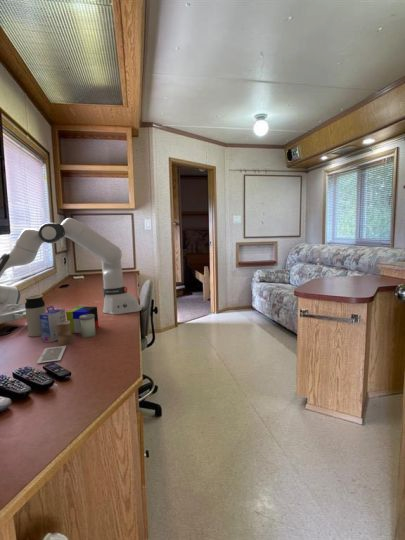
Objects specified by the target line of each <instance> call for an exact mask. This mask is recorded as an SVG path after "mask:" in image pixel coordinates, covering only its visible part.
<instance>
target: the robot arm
mask: <svg viewBox="0 0 405 540" xmlns="http://www.w3.org/2000/svg"><path fill="white" fill-rule="evenodd" d="M63 238H67V239H69V240H71V241H72V242H74V243H76V244H77V245H78V246H80V247H81V248H82V249H83V248H84V249H85V250H87V252H89V253H91V254H93V255H94V256H95V257H97V258H98V259H100V261H101V270H102V280H103V281H102V282H103V289H102V293H103V301H104V302H103V309H102V312H103V313H104V314H108V315H115V316H116V315H121V314H127V313H129V314H130V313H136V312H140V311H142V310H143V305H141V304H139V302H138V299H137V298H136V296H134V295H132V294H131V293H130V292H128V286H125V285H124V275H123V268H122V260H121V259H122V257H123V254H122V250H121V249H120V247H119V246H117V245H116V244H114V243H113V242H112V241H110V240H109V239H107V238H106V237H104V236H102V235H101V234H99V233H98V232H97V231H94V230H93V229H92V228H91V227H89V226H87V224H85V223H82V222H81V221H79V220H77V219H75V218H72V217H67V218H65V219H64V220H63V221H62V222H61V223H59V222H58V223H55V222H46V223H43V224H41V225H40V226H39V228H38V229H35V228H30V227H29V228H28V227H27V228H24V229H23V230H22V231H21V233H20V234H19V236H18V237H17V239H16V241H15V243H14V246H13V247H12V249H10V251H9V252H7V253H3V254H2V255H1V257H0V279H1V278H2V276H3V275H4V273H5V272H6V270H8V269H9V268H12V267H20V266H26V265H29V264H31V263H32V262H34V260H35V259H36V257H37V255H38V252H39V250H40V248H41V246H42V245H43V243H44V244H45V243H46V244H56V243H59V242H60V241H61V240H62V239H63ZM20 299H21V292H20V289H19V288H18V287H17V286H15V285H9V284H4V283H0V324H3V323H6V322H8V323H12V322H16V321H17V320H19V319H22V320H23V319H25V318H26V309H25V303H20ZM26 319H27V318H26Z"/></svg>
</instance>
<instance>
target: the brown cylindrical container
mask: <svg viewBox="0 0 405 540" xmlns="http://www.w3.org/2000/svg"><path fill="white" fill-rule="evenodd" d="M56 326H57V335H58V340H57V343H58V344H57V345H58V347H60V346H69V345H73V344H72V343H73V335H72V334H73V333H71V323H70V320H69V321H67V320H66V321H61V322H57V325H56Z"/></svg>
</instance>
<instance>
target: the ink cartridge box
mask: <svg viewBox="0 0 405 540" xmlns="http://www.w3.org/2000/svg"><path fill="white" fill-rule="evenodd" d="M50 308H51V309H50ZM45 310H46V311H47V312H46V311H45V312H46V313H44V314H41V315H39V316H40V323H41V330H42V335H41V336H42V341H43V343H45V342H46V343H53V342H55V341H58V335H57V326H56V325H57V322H61V321H67V317H66V310H65V309H64V308H55V307H54V305H51V306H47V307H46V306H45Z"/></svg>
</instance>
